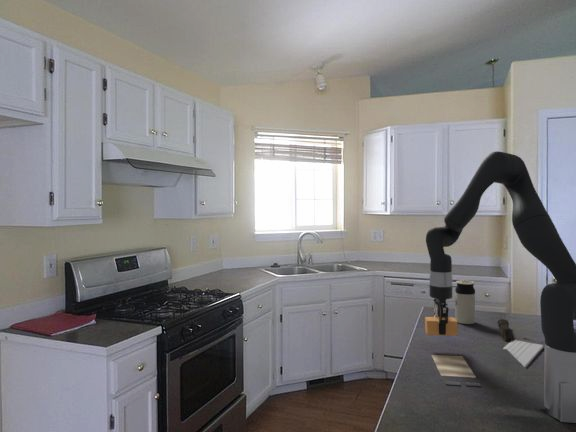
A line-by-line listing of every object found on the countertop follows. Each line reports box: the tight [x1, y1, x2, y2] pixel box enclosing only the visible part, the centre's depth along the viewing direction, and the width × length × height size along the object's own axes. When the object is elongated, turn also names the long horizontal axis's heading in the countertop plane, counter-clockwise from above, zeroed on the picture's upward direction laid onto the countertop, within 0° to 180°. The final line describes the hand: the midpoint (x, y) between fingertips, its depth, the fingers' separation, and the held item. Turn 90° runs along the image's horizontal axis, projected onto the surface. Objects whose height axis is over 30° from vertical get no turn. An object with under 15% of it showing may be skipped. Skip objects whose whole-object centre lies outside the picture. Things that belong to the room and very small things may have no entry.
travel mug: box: [454, 279, 476, 325], centre depth 184 cm, size 8×8×18 cm
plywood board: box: [431, 354, 477, 379], centre depth 132 cm, size 17×10×2 cm, turn 170°
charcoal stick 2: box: [464, 381, 482, 388], centre depth 118 cm, size 2×4×2 cm
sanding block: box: [424, 316, 459, 337], centre depth 146 cm, size 5×10×5 cm, turn 80°
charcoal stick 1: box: [444, 380, 462, 387], centre depth 119 cm, size 2×4×2 cm
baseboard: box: [502, 336, 544, 368], centre depth 144 cm, size 31×3×12 cm
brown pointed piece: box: [497, 318, 510, 342], centre depth 167 cm, size 19×4×5 cm, turn 153°
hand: (440, 331), depth 146 cm, fingers closed on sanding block, 5 cm apart
